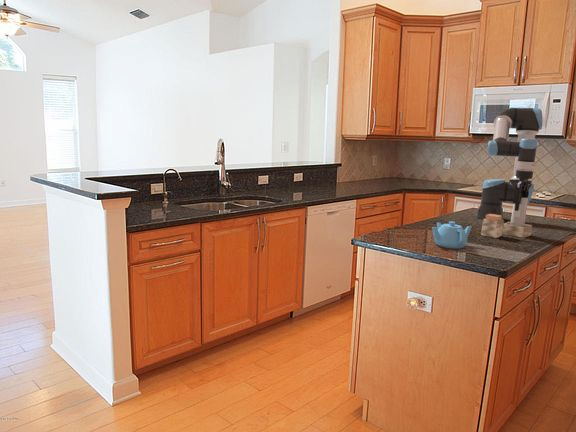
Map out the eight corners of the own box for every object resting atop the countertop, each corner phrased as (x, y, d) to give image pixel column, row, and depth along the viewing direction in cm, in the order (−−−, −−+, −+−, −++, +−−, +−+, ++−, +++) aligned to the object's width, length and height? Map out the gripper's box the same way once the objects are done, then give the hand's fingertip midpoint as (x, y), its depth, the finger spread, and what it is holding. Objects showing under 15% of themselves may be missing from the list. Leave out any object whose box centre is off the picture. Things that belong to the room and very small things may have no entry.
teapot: (428, 246, 204) (430, 222, 202) (435, 239, 217) (437, 216, 215) (464, 251, 197) (467, 227, 195) (469, 244, 210) (472, 221, 208)
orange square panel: (485, 220, 228) (485, 215, 228) (489, 219, 232) (490, 213, 232) (496, 222, 224) (497, 216, 224) (501, 221, 228) (501, 215, 228)
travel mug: (509, 229, 232) (514, 190, 228) (510, 227, 238) (515, 189, 234) (523, 231, 229) (529, 191, 226) (523, 229, 235) (529, 190, 231)
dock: (480, 235, 230) (482, 219, 228) (497, 229, 245) (499, 214, 244) (515, 241, 218) (517, 225, 217) (530, 235, 234) (533, 219, 233)
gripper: (526, 171, 219) (519, 219, 223) (539, 170, 232) (532, 215, 237) (510, 170, 224) (503, 217, 228) (523, 168, 237) (517, 213, 242)
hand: (518, 216), depth 233 cm, fingers closed on travel mug, 6 cm apart
